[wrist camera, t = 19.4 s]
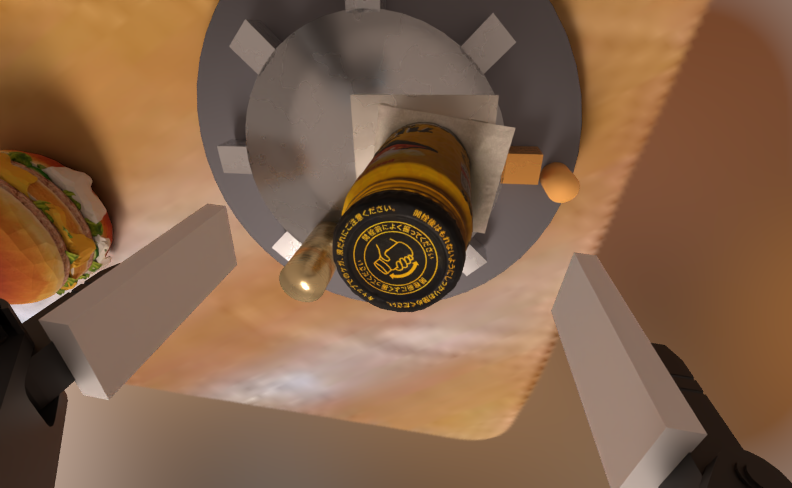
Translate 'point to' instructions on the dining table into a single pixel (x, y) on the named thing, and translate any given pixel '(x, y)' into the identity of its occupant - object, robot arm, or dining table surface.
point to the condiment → (418, 207)
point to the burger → (47, 227)
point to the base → (509, 78)
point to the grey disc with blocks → (352, 117)
